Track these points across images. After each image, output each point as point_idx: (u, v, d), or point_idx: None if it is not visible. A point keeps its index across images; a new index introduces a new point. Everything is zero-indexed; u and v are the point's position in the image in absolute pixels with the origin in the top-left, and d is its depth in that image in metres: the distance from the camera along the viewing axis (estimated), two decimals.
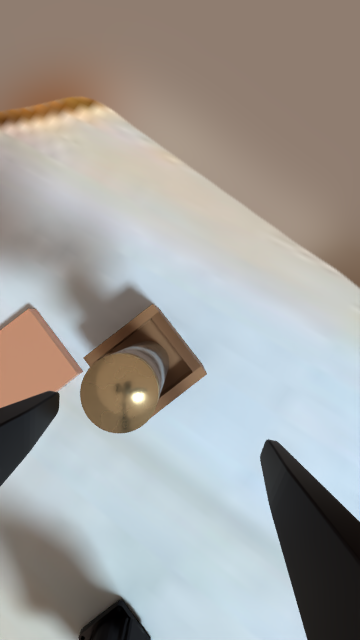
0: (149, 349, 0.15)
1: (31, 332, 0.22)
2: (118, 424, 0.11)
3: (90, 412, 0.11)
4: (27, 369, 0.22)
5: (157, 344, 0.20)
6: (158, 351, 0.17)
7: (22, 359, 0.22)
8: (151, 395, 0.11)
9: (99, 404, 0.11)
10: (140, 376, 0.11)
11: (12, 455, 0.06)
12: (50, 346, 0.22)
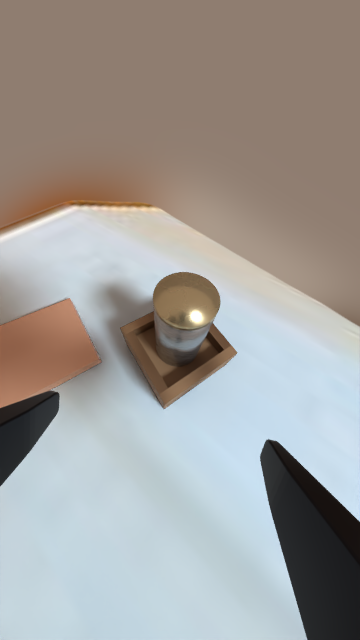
0: None
1: (64, 316, 0.23)
2: (185, 319, 0.12)
3: (160, 308, 0.12)
4: (45, 349, 0.21)
5: None
6: None
7: (45, 339, 0.22)
8: (214, 300, 0.13)
9: (169, 303, 0.13)
10: (205, 287, 0.14)
11: (12, 455, 0.06)
12: (79, 330, 0.23)
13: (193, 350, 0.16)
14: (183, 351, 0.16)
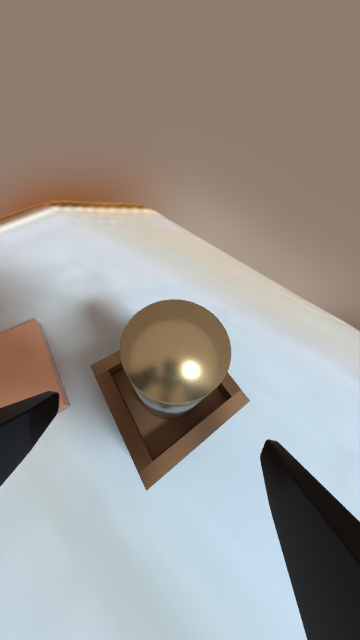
0: None
1: (25, 344, 0.18)
2: (172, 388, 0.07)
3: (130, 366, 0.07)
4: None
5: None
6: None
7: None
8: (222, 349, 0.08)
9: (146, 355, 0.08)
10: (206, 326, 0.09)
11: (12, 455, 0.06)
12: (42, 363, 0.17)
13: (188, 409, 0.11)
14: (174, 413, 0.11)
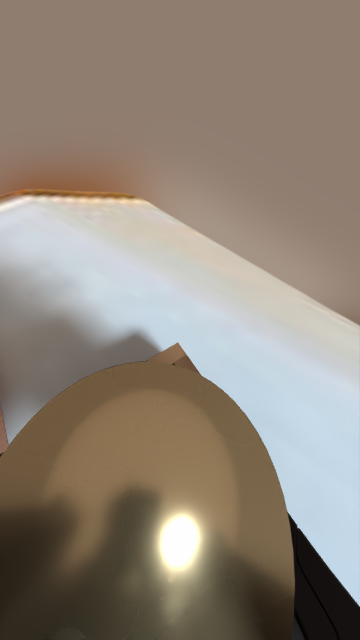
0: None
1: None
2: None
3: None
4: None
5: None
6: None
7: None
8: (266, 531, 0.03)
9: (34, 581, 0.02)
10: (220, 441, 0.03)
11: None
12: None
13: None
14: None
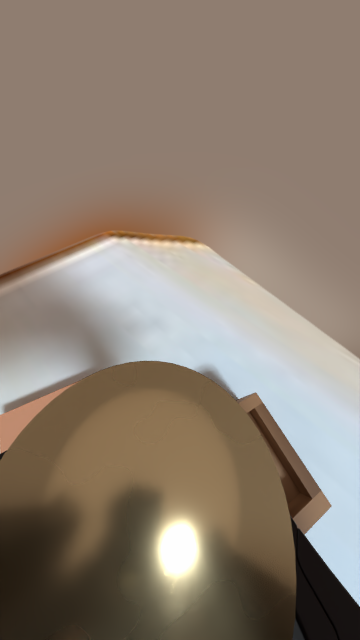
0: None
1: None
2: None
3: None
4: None
5: None
6: None
7: None
8: (267, 529, 0.03)
9: (37, 579, 0.02)
10: (221, 439, 0.03)
11: None
12: None
13: None
14: None
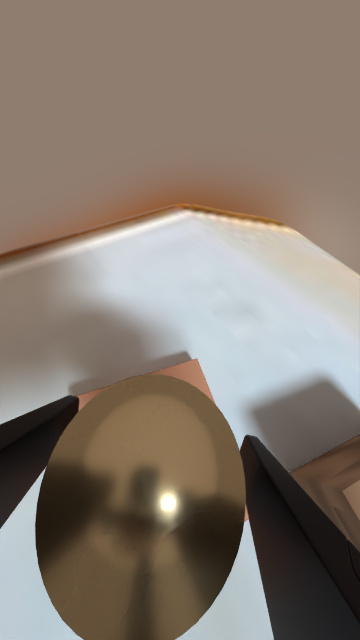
0: None
1: None
2: (129, 605, 0.03)
3: (52, 541, 0.04)
4: None
5: None
6: None
7: None
8: (229, 484, 0.04)
9: (87, 509, 0.04)
10: (202, 428, 0.05)
11: (38, 461, 0.06)
12: None
13: None
14: None
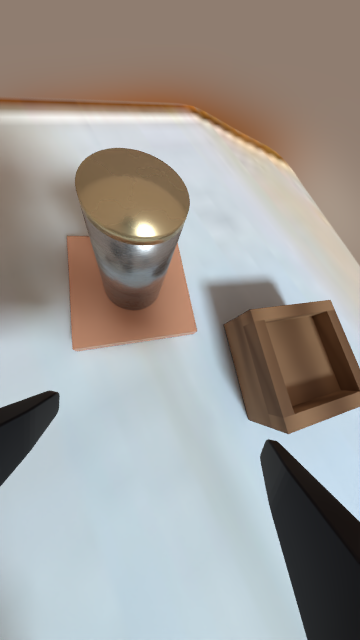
0: None
1: None
2: (123, 221, 0.07)
3: (84, 193, 0.07)
4: None
5: None
6: None
7: None
8: (180, 207, 0.08)
9: (103, 190, 0.08)
10: (170, 185, 0.09)
11: (12, 455, 0.06)
12: (180, 284, 0.18)
13: (145, 288, 0.12)
14: (129, 285, 0.11)
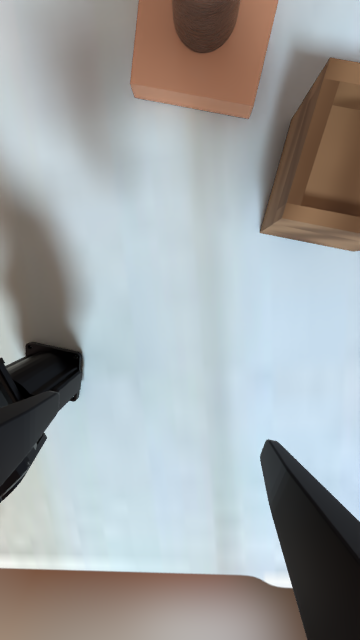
0: None
1: None
2: None
3: None
4: None
5: None
6: None
7: None
8: None
9: None
10: None
11: (12, 455, 0.06)
12: (263, 26, 0.14)
13: None
14: None
